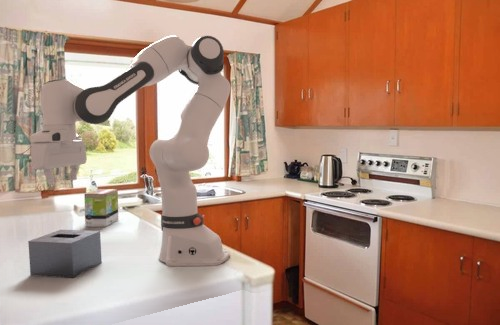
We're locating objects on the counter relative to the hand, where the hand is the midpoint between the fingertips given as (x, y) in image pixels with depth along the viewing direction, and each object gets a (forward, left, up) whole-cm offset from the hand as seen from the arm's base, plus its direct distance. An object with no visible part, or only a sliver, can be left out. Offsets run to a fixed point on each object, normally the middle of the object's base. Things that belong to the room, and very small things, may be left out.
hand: (62, 182), depth 123 cm
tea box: (+25, -59, -26) cm, 69 cm away
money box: (0, 0, -26) cm, 26 cm away
